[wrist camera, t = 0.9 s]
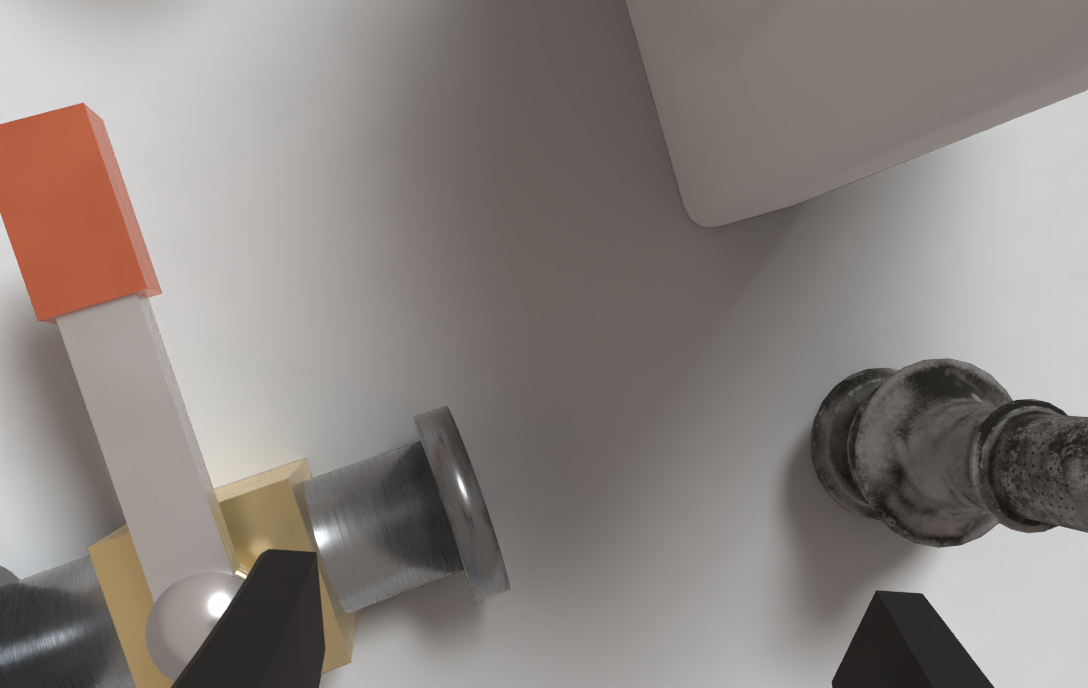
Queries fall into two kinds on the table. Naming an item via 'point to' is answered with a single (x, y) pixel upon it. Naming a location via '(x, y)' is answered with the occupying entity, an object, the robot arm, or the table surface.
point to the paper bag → (840, 87)
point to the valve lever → (119, 365)
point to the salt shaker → (950, 454)
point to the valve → (254, 526)
